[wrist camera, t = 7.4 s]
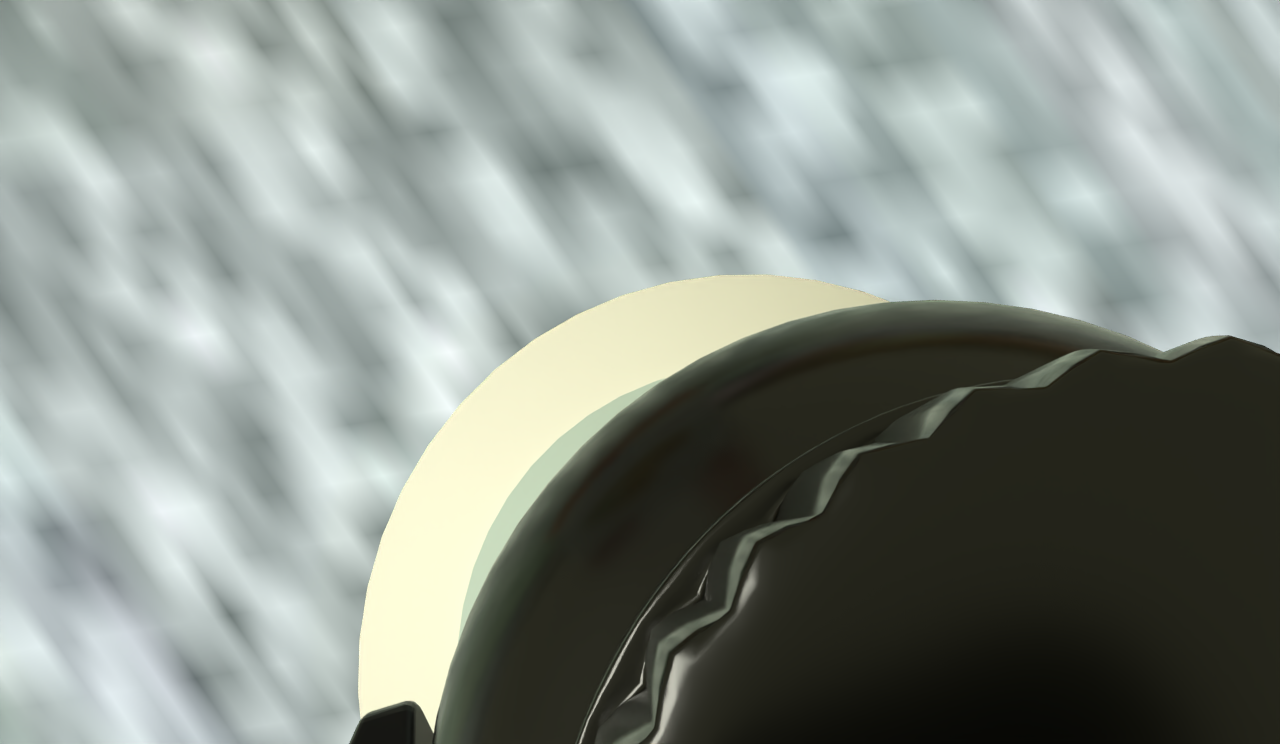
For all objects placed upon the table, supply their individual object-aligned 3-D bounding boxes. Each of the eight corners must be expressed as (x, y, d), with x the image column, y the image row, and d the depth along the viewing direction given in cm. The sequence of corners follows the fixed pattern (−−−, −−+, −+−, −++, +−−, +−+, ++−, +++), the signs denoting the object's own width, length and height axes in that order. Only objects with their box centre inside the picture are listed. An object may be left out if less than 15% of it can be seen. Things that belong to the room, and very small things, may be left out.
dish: (762, 153, 19) (773, 124, 18) (1267, 677, 18) (1318, 686, 17) (222, 627, 18) (190, 633, 17) (729, 1235, 17) (738, 1294, 15)
